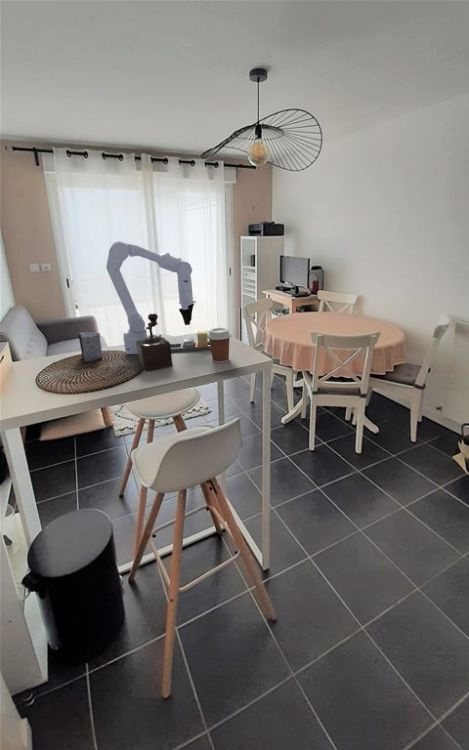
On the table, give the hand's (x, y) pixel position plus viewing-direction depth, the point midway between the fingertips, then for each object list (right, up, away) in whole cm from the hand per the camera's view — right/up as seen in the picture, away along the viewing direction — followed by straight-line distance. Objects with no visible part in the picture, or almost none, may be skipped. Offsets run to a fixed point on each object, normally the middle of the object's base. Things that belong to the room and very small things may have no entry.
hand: (188, 322), depth 156 cm
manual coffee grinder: (-11, -18, -17) cm, 27 cm away
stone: (-38, -16, -9) cm, 42 cm away
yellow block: (+7, -11, -2) cm, 13 cm away
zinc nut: (+1, -12, -2) cm, 12 cm away
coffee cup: (+15, -17, -17) cm, 28 cm away
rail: (+1, -12, -2) cm, 12 cm away
